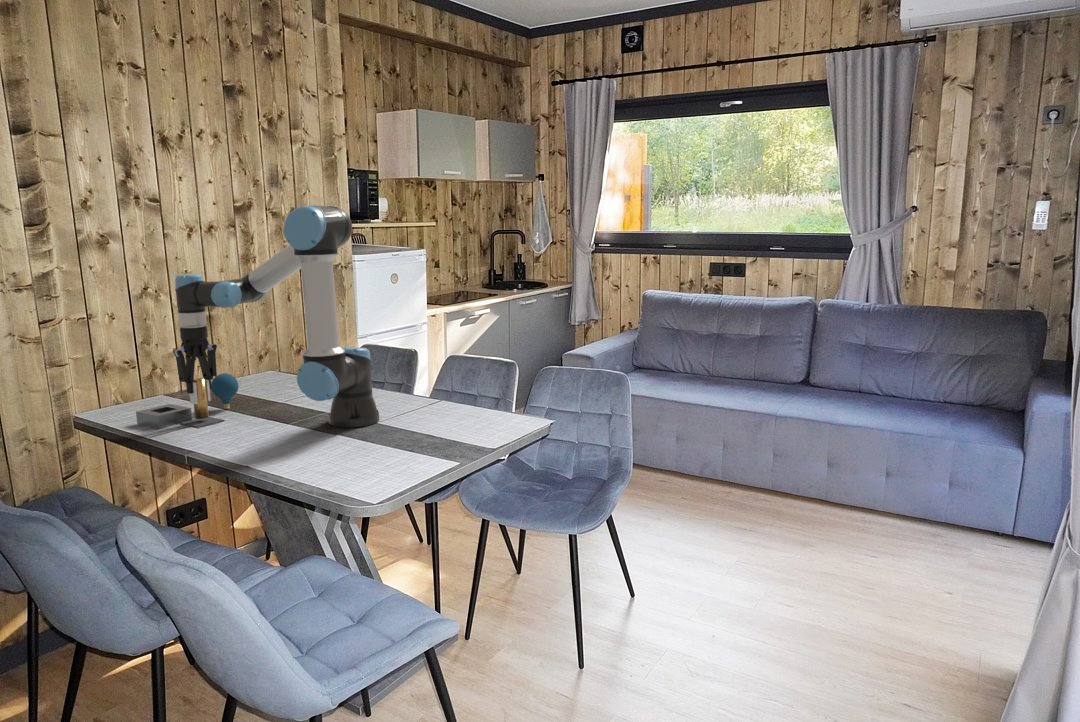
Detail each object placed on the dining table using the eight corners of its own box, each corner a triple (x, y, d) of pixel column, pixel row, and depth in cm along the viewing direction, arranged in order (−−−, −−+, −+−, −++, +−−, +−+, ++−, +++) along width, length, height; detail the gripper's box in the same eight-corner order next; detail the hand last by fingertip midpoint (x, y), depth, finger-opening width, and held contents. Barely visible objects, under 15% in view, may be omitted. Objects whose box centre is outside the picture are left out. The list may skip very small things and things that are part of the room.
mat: (224, 421, 234) (224, 419, 234) (198, 428, 227) (198, 426, 227) (206, 417, 239) (205, 416, 239) (180, 424, 231) (179, 422, 231)
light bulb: (222, 413, 243) (218, 377, 241) (208, 410, 248) (204, 374, 246) (245, 408, 250) (242, 372, 247) (231, 405, 255) (228, 370, 252)
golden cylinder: (203, 415, 235) (199, 377, 233) (211, 416, 233) (207, 378, 231) (192, 418, 232) (188, 379, 230) (200, 419, 230) (196, 381, 228)
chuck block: (192, 420, 235) (191, 408, 235) (159, 429, 226) (157, 416, 225) (170, 416, 241) (169, 403, 240) (137, 424, 231) (135, 411, 231)
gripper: (209, 321, 236) (216, 394, 241) (159, 328, 222) (167, 406, 226) (225, 323, 232) (231, 397, 237) (175, 330, 218) (183, 409, 223)
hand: (200, 401), depth 232 cm, fingers closed on golden cylinder, 4 cm apart
